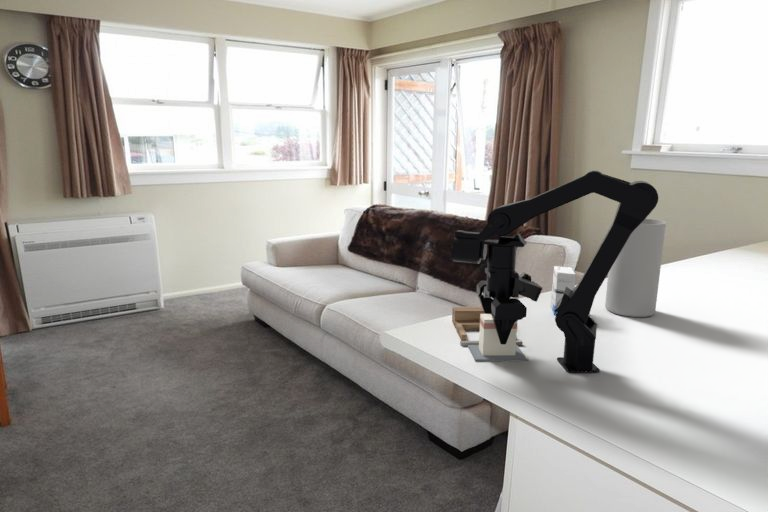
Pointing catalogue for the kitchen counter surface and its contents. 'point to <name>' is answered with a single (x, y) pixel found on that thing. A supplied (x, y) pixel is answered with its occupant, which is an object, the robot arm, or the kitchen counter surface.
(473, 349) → the mat
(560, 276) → the ink box
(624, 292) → the cylinder vase
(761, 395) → the kitchen counter surface
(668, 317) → the kitchen counter surface
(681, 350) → the kitchen counter surface
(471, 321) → the cradle
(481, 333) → the block
